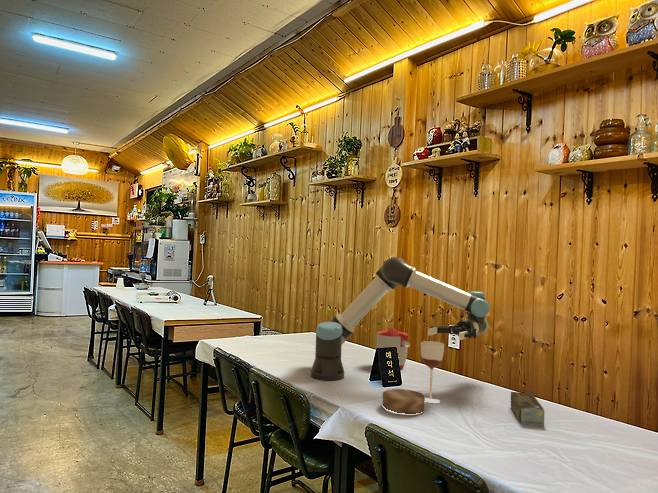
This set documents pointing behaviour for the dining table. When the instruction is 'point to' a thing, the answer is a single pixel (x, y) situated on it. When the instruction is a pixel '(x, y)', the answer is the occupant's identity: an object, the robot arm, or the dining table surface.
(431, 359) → the wineglass
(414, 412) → the walnut stand
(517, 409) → the weathered grey-green block
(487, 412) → the dining table surface
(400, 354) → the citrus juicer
